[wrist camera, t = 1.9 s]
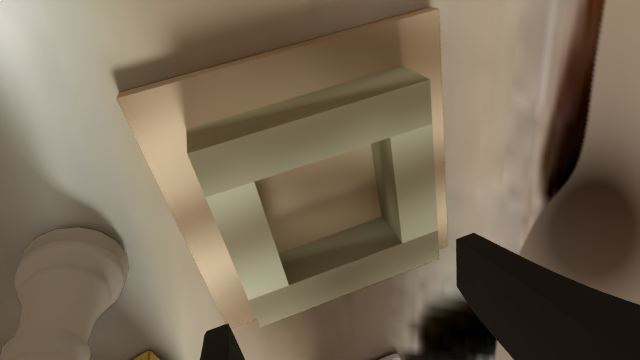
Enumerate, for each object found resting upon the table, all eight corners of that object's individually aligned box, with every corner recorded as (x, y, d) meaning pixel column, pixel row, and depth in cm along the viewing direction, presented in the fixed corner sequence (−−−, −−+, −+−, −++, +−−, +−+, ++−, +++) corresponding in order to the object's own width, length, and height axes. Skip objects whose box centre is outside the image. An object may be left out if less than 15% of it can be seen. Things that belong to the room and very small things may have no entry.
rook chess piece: (49, 205, 18) (-31, 358, 11) (147, 242, 20) (131, 387, 13) (5, 279, 19) (-93, 460, 12) (103, 306, 21) (67, 472, 14)
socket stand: (440, 238, 26) (472, 272, 23) (226, 318, 24) (233, 366, 21) (429, 7, 19) (473, 15, 16) (118, 92, 16) (106, 120, 14)
